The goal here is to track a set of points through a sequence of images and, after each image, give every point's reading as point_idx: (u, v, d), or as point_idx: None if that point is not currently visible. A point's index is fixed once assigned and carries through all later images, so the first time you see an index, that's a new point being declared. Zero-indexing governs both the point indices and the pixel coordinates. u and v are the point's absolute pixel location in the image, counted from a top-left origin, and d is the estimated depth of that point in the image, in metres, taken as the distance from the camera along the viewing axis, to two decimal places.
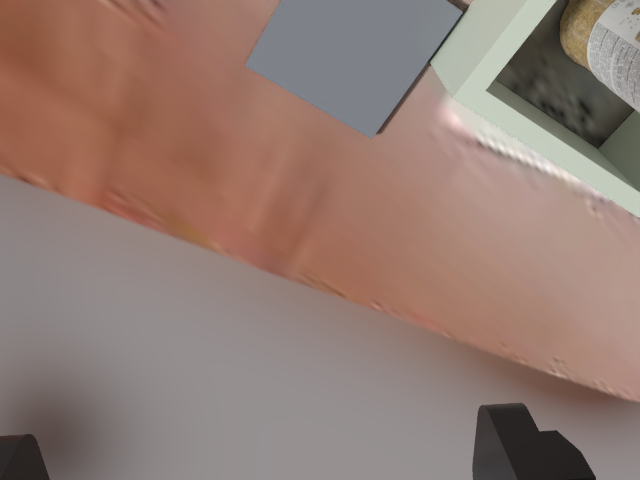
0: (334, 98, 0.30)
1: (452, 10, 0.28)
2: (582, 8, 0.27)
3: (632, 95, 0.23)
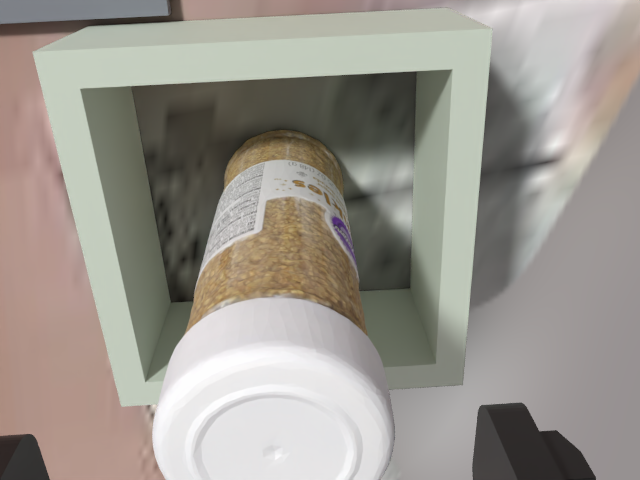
0: None
1: (160, 0, 0.19)
2: (271, 144, 0.21)
3: (206, 253, 0.16)
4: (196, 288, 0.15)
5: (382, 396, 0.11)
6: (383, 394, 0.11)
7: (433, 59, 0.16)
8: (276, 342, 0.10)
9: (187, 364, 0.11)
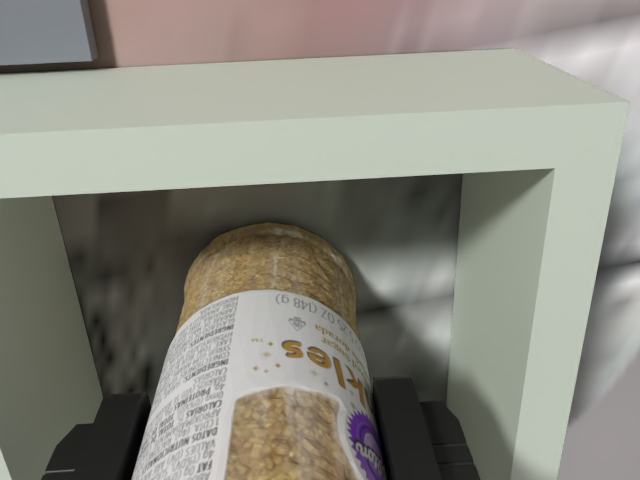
0: None
1: (77, 37, 0.13)
2: (251, 251, 0.14)
3: None
4: None
5: None
6: None
7: (523, 152, 0.09)
8: None
9: None
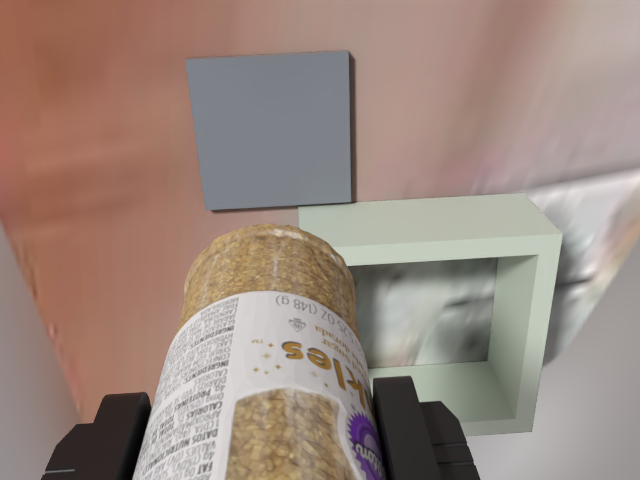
0: (215, 155, 0.30)
1: (346, 193, 0.31)
2: (251, 252, 0.14)
3: None
4: None
5: None
6: None
7: (527, 249, 0.28)
8: None
9: None
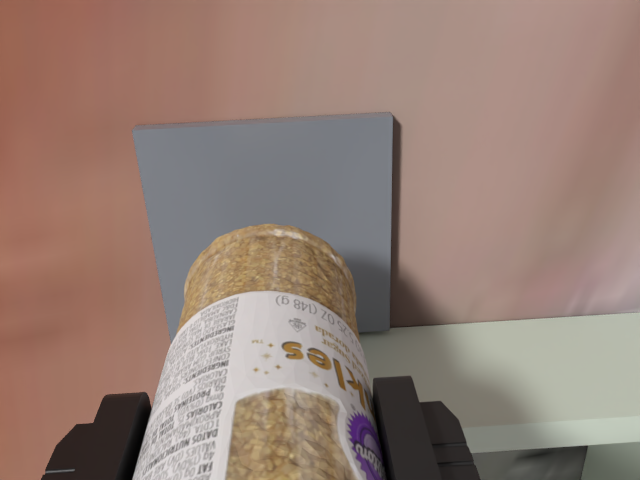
0: (184, 269, 0.19)
1: (383, 319, 0.21)
2: (251, 252, 0.14)
3: None
4: None
5: None
6: None
7: None
8: None
9: None
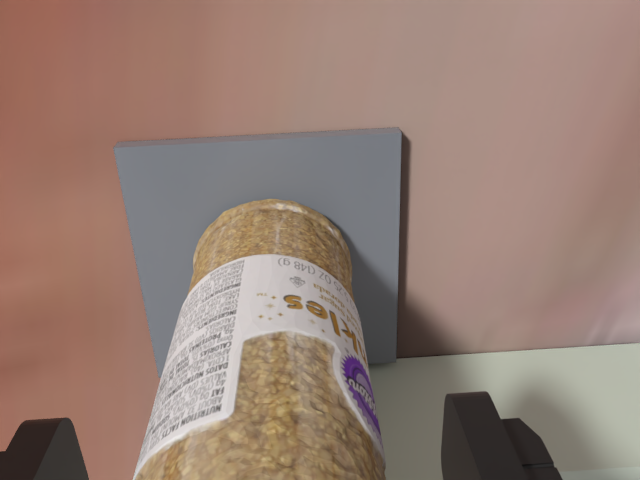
0: (173, 298, 0.18)
1: (389, 350, 0.19)
2: (255, 223, 0.15)
3: (149, 429, 0.10)
4: None
5: None
6: None
7: None
8: None
9: None
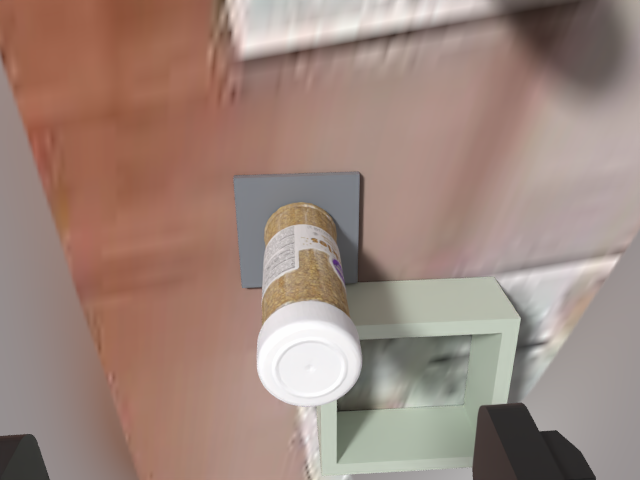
0: (252, 247, 0.38)
1: (354, 276, 0.39)
2: (295, 212, 0.35)
3: (267, 278, 0.30)
4: (264, 296, 0.29)
5: (357, 343, 0.25)
6: (357, 343, 0.25)
7: (494, 329, 0.36)
8: (313, 319, 0.25)
9: (275, 328, 0.25)
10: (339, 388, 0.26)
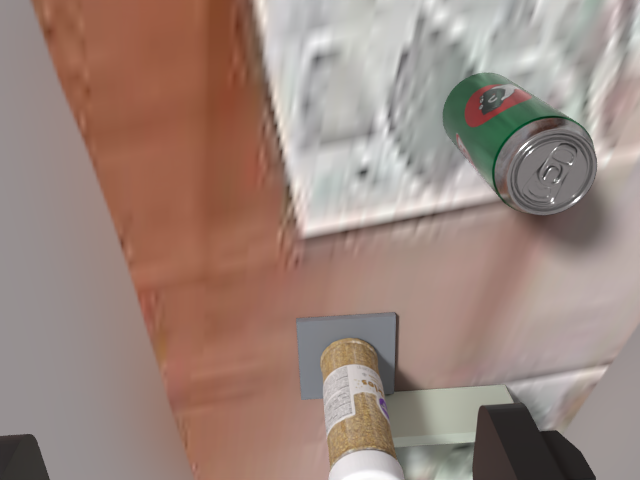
0: (310, 370, 0.47)
1: (391, 389, 0.49)
2: (346, 349, 0.45)
3: (330, 417, 0.40)
4: (329, 433, 0.39)
5: None
6: None
7: None
8: (372, 469, 0.34)
9: (344, 475, 0.35)
10: None
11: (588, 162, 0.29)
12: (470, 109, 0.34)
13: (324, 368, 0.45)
